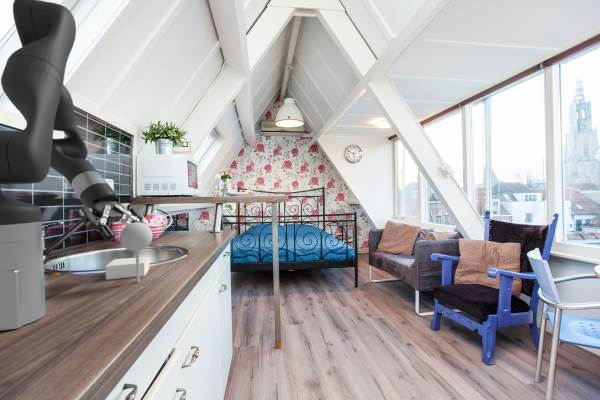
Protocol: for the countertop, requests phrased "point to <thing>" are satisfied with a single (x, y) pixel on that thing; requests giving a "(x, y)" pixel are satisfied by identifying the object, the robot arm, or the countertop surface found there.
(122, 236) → the lollipop
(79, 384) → the countertop surface
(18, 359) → the countertop surface
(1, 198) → the robot arm
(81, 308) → the countertop surface
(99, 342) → the countertop surface
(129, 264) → the white soap bar
